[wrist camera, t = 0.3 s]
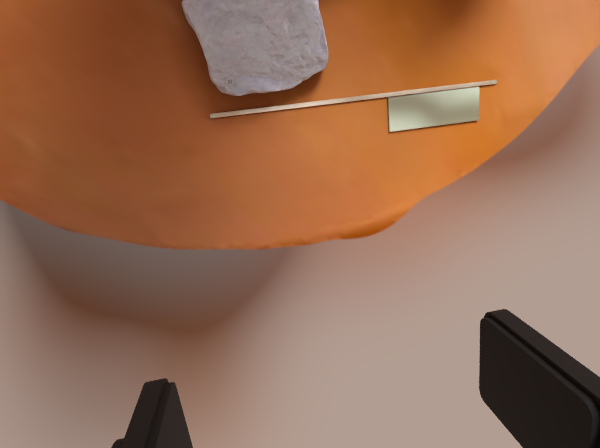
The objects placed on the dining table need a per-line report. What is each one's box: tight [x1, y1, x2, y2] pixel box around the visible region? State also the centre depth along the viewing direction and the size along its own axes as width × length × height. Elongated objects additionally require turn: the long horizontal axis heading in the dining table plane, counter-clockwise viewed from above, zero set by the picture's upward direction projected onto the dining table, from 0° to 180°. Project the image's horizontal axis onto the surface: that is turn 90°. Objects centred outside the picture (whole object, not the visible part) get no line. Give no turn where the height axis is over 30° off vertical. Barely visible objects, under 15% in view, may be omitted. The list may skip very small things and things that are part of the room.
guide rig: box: [210, 80, 497, 132], centre depth 35 cm, size 18×30×3 cm, turn 97°
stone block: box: [181, 0, 328, 96], centre depth 34 cm, size 12×5×10 cm
